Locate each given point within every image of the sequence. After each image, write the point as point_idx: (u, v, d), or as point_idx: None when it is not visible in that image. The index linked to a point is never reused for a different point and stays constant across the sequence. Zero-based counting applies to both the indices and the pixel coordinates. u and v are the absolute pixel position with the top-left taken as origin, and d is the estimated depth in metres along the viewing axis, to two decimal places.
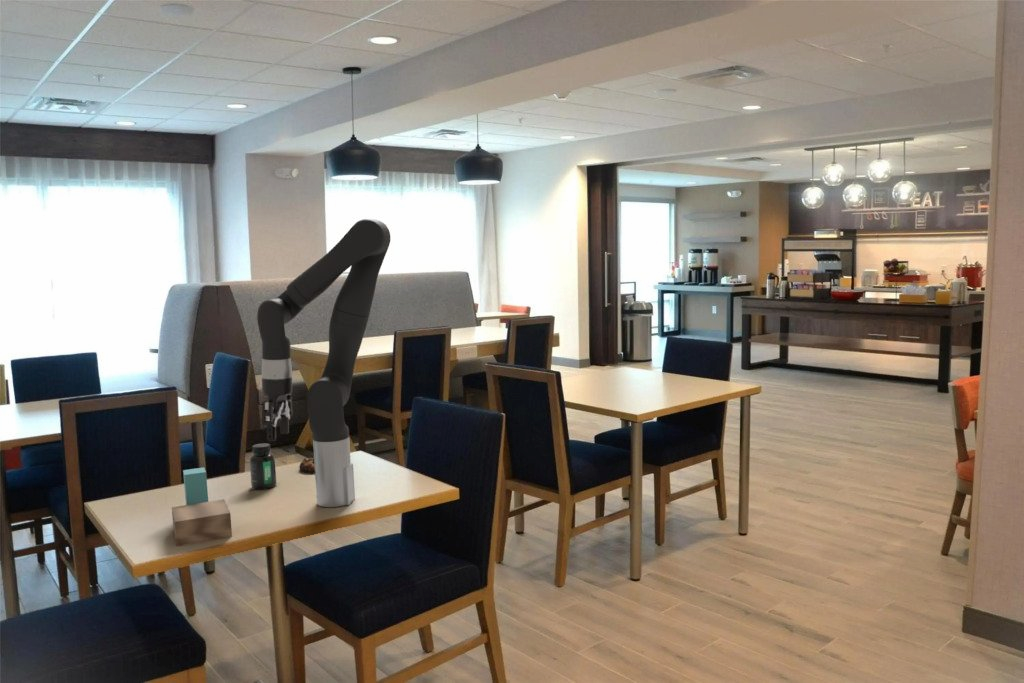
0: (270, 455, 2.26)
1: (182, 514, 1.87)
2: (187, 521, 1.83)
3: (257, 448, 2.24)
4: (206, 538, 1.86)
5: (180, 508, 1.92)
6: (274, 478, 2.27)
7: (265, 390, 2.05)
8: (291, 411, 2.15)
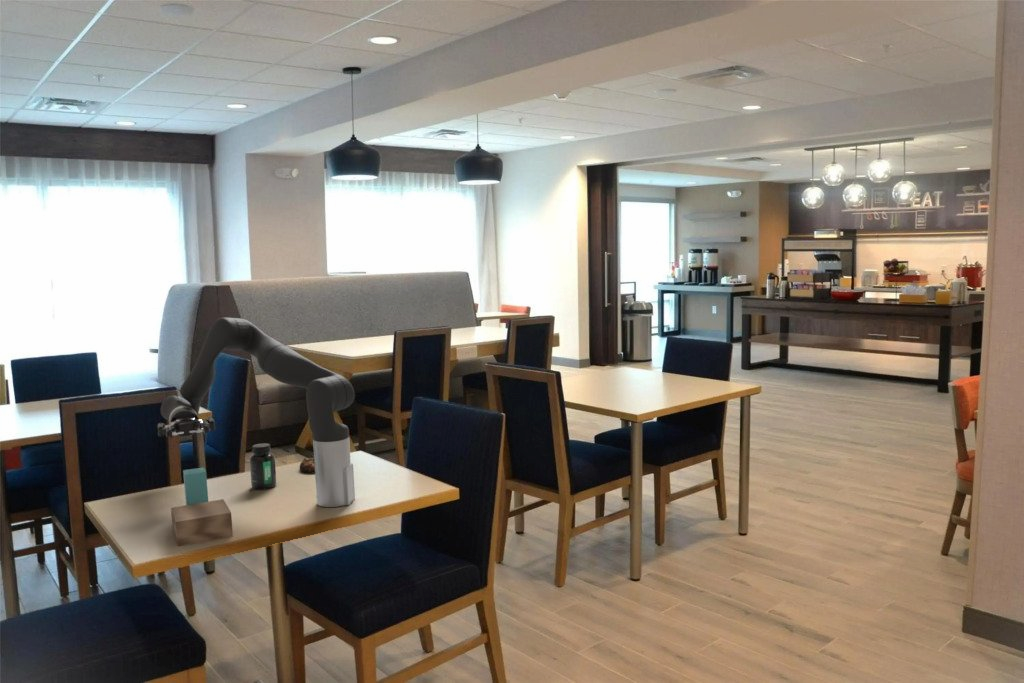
0: (270, 455, 2.26)
1: (183, 514, 1.87)
2: (188, 521, 1.83)
3: (257, 448, 2.24)
4: (207, 538, 1.86)
5: (180, 508, 1.92)
6: (274, 478, 2.27)
7: None
8: (211, 420, 2.18)
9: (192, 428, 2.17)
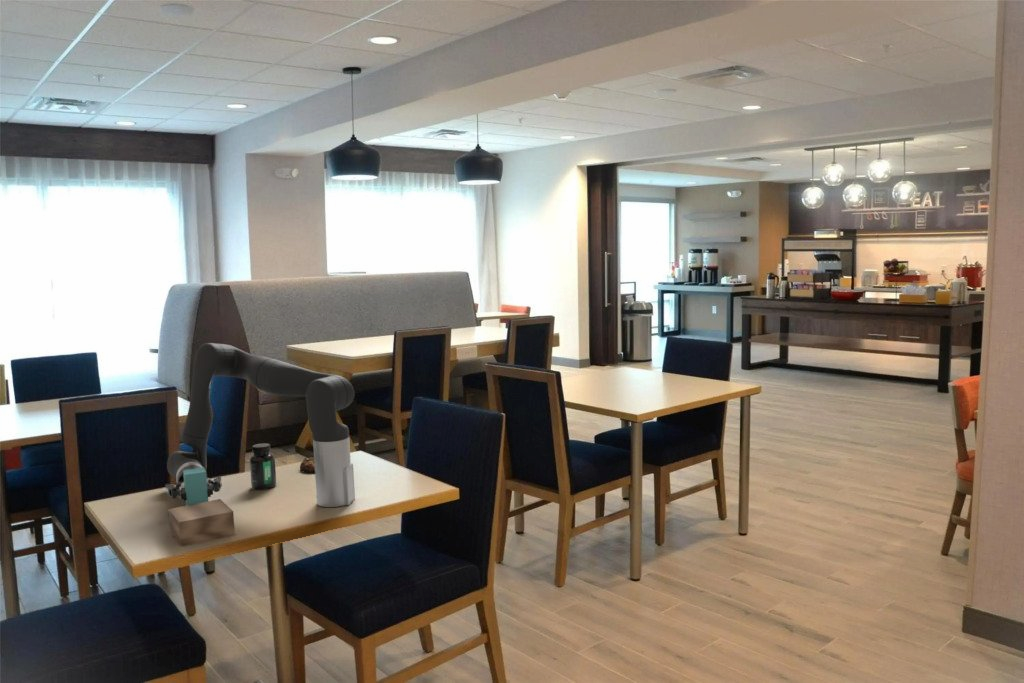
0: (270, 455, 2.26)
1: (184, 515, 1.87)
2: (191, 521, 1.83)
3: (257, 448, 2.24)
4: (209, 538, 1.86)
5: (178, 509, 1.91)
6: (274, 478, 2.27)
7: None
8: None
9: None
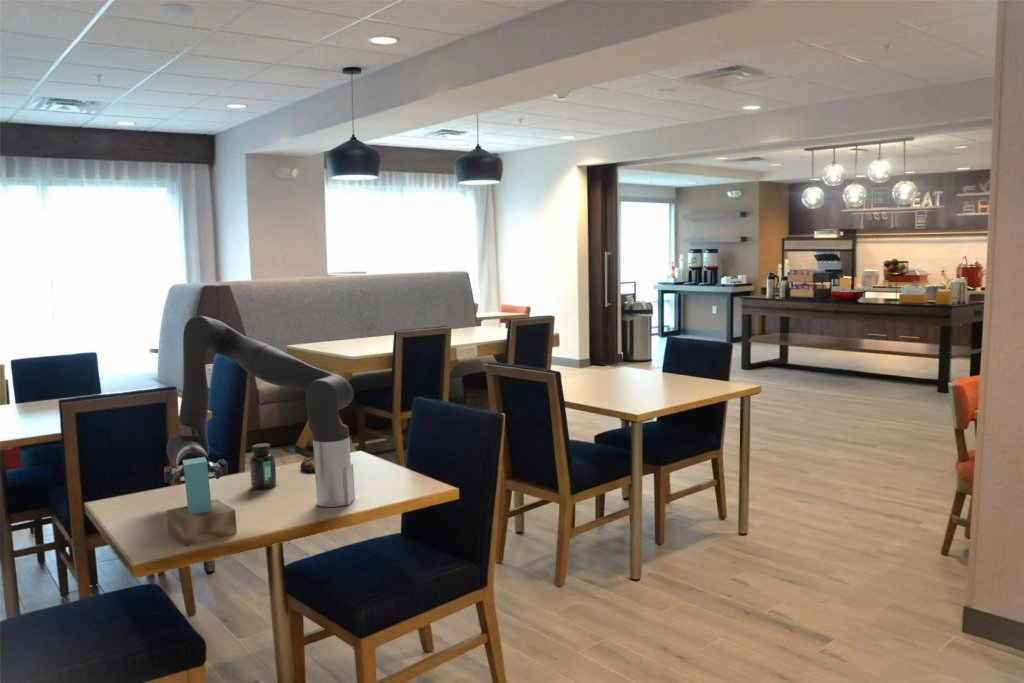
0: (270, 455, 2.26)
1: (185, 515, 1.87)
2: (194, 521, 1.83)
3: (257, 448, 2.24)
4: (212, 537, 1.86)
5: (177, 510, 1.90)
6: (274, 478, 2.27)
7: None
8: (224, 463, 1.95)
9: None
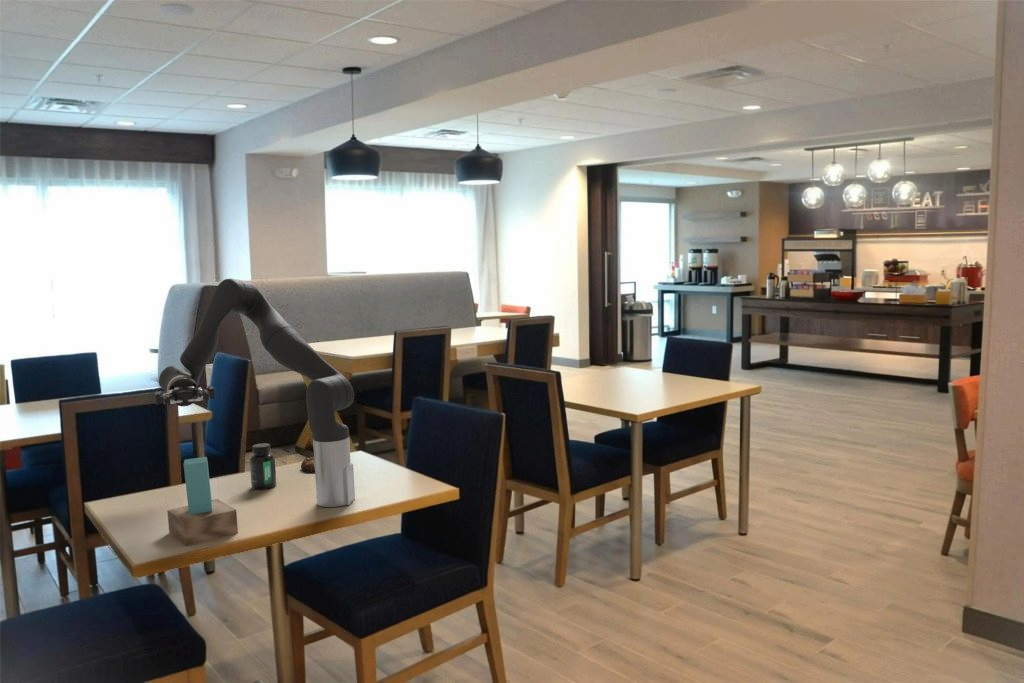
0: (270, 455, 2.26)
1: (186, 515, 1.87)
2: (196, 520, 1.84)
3: (257, 448, 2.24)
4: (213, 537, 1.87)
5: (178, 510, 1.91)
6: (274, 478, 2.27)
7: None
8: None
9: (191, 396, 2.07)
